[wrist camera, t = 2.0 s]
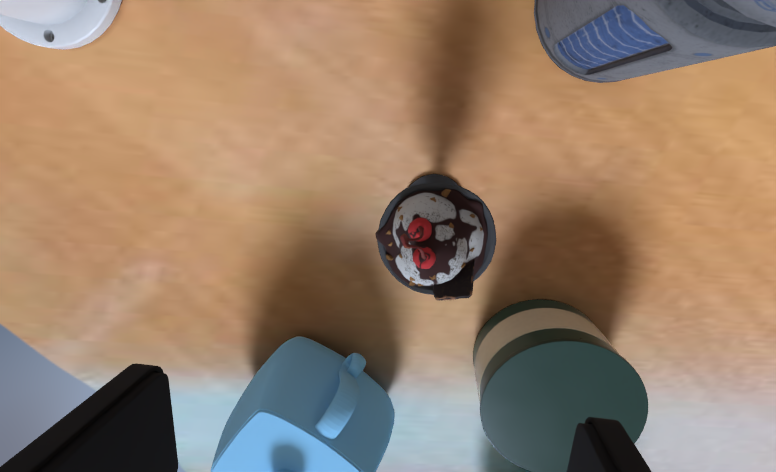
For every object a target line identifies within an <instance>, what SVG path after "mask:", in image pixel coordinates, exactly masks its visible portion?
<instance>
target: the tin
mask: <svg viewBox="0 0 776 472" xmlns="http://www.w3.org/2000/svg"><path fill="white" fill-rule="evenodd" d="M473 362H474V369H475V378H476V384H477V389H478V394H479V400H480V415H481V421H482V425H483V429H484V431H485V433H486V436H487V438H488V439H489V441H490V442H491V444H492V445H493V446H494V448H495V449H496V450H497V451H498V452H499V453H500V454H501V455H502V456H503V457H504V458H506V459H507V460H509V461H510V462H512V463H513V464H515V465H517V466H519V467H521V468H523V469H526V470H528V471H531V472H567V468H568V463H569V458H570V454H571V449H572V445H573V440H574V435H575V431H576V427H577V425H578V423H585V420H586V419H587V418H588V417H596V418H604V419H613V420H617V421H619V422H620V423H621V424H622V426H623V427H624V429H625V430H626V432H627V434H628V435H629V437H630V438H631V440H632V442H633V443H634V444H635V442H636V441H637V439H638V438H639V436H640V434H641V433H642V431H643V429H644V426H645V423H646V420H647V414H648V399H647V393H646V390H645V387H644V384H643V382H642V380H641V378H640V376H639V375H638V373H637V372H636V371H635V369H634V368H633V367H632V366H631V365H630V364H629V363H628V362H627V361H626V360H625V359H624V358H623V357H622V356H620V355H619V353H618V352H617V351H616V350H615V348H614V347H613V346H612V345H611V343H610V342H609V341H608V340H607V339H606V337H605V336H604V335H603V334H602V332H601V331H600V330H599V329H598V328H597V327H596V326H595V325H594V324H593V323H592V321H591V320H590V319H589V318H588V317H587V316H586V315H584V314H583V313H582V312H580V311H579V310H577V309H576V308H574V307H572V306H570V305H567V304H565V303H561V302H558V301H552V300H538V299H537V300H528V301H523V302H519V303H516V304H513V305H511V306H509V307H507V308H504V309H503V310H501V311H500V312H498V313H497V314H495V315H494V316H493V317H492V318H491V319H490V320H489V321H488V322H487V323H486V324H485V325H484V327H483V328H482V329H481V331H480V333H479V335H478V337H477V339H476V342H475V346H474V351H473Z"/></svg>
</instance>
